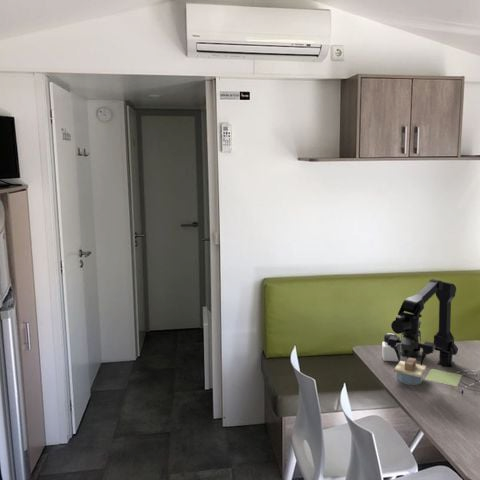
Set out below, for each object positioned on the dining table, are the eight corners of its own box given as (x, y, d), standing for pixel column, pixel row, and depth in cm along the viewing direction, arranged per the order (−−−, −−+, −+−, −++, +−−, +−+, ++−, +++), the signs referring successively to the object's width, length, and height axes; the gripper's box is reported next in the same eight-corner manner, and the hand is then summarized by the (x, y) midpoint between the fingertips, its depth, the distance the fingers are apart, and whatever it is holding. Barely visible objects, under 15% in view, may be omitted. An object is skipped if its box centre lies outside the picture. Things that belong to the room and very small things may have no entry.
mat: (431, 369, 216) (431, 368, 216) (462, 375, 209) (462, 374, 209) (424, 380, 206) (424, 379, 206) (457, 387, 199) (457, 386, 199)
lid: (400, 362, 213) (400, 354, 212) (426, 367, 207) (426, 359, 206) (393, 371, 203) (393, 362, 203) (420, 377, 198) (420, 368, 197)
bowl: (401, 373, 213) (401, 363, 212) (424, 378, 207) (424, 367, 206) (394, 382, 204) (395, 371, 204) (419, 387, 199) (419, 376, 198)
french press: (422, 359, 228) (423, 313, 224) (401, 358, 230) (403, 312, 226) (418, 350, 239) (420, 306, 236) (398, 349, 241) (400, 305, 238)
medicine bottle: (398, 361, 226) (399, 337, 224) (383, 360, 227) (383, 337, 225) (397, 356, 233) (397, 332, 231) (381, 355, 234) (382, 331, 232)
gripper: (384, 330, 201) (383, 365, 203) (430, 338, 191) (429, 374, 193) (391, 322, 210) (390, 356, 212) (436, 329, 200) (434, 365, 202)
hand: (410, 363), depth 205 cm, fingers open, 9 cm apart
